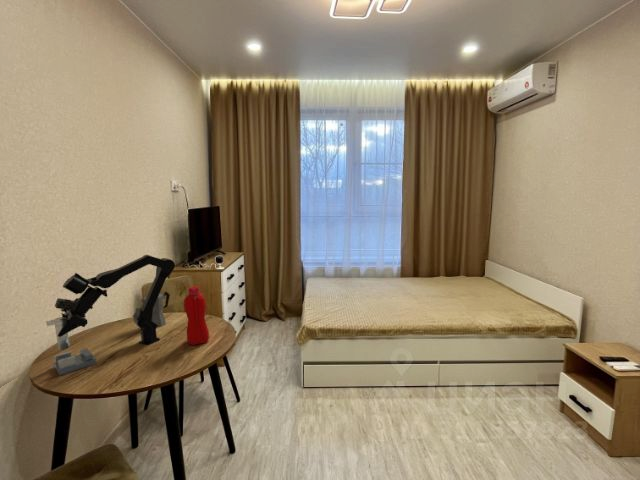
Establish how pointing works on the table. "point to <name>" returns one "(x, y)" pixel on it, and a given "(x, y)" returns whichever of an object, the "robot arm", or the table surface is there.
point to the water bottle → (196, 317)
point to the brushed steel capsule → (59, 323)
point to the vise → (73, 361)
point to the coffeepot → (159, 309)
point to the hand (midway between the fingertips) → (57, 335)
